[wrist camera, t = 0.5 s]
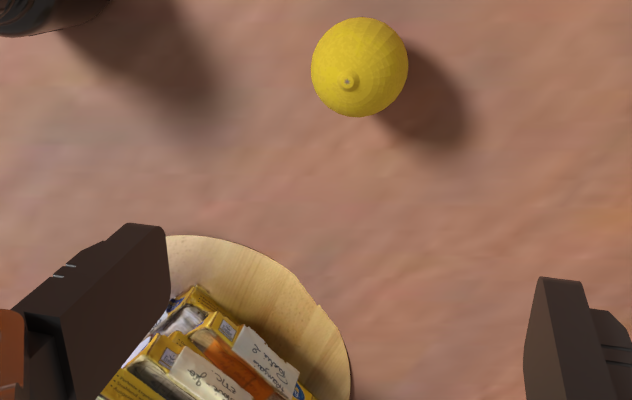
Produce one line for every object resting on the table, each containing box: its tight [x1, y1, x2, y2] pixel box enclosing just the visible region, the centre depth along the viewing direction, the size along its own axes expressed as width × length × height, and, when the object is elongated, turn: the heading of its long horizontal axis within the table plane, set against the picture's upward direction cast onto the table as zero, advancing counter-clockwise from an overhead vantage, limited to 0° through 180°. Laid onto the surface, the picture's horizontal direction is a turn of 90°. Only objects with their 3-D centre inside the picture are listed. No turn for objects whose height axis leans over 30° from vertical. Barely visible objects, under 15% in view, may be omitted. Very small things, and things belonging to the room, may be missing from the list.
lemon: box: [311, 17, 408, 117], centre depth 34 cm, size 6×6×8 cm
